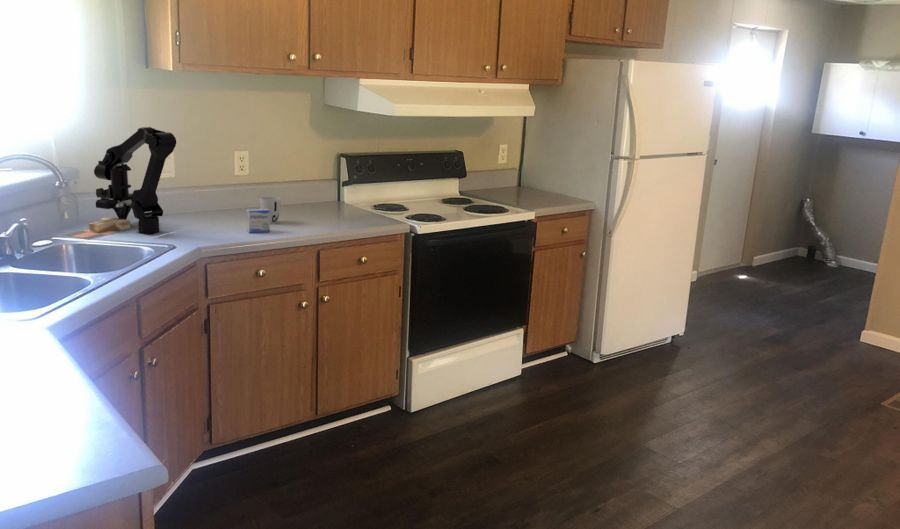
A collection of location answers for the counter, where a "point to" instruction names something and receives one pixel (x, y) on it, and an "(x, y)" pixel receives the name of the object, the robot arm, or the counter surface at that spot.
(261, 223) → the medicine box
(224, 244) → the counter surface
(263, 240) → the counter surface
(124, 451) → the counter surface
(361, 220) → the counter surface
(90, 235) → the mat
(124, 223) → the t block
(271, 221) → the cup
